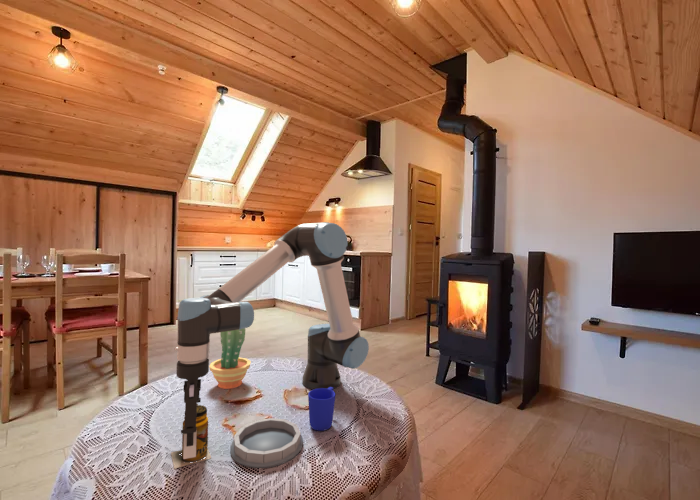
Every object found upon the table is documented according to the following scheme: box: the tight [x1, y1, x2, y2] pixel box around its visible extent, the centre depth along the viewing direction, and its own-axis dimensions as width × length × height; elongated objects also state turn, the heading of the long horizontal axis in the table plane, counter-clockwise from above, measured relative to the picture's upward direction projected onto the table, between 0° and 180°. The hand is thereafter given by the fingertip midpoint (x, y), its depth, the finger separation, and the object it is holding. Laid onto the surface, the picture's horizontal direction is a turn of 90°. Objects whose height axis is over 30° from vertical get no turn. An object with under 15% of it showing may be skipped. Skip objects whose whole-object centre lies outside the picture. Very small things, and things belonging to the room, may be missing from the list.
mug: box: [307, 387, 336, 432], centre depth 106 cm, size 8×12×10 cm
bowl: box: [230, 417, 304, 469], centre depth 93 cm, size 19×19×3 cm
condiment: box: [170, 404, 212, 470], centre depth 88 cm, size 7×8×12 cm
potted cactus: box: [209, 328, 252, 390], centre depth 133 cm, size 15×15×25 cm
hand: (190, 441), depth 88 cm, fingers open, 13 cm apart
